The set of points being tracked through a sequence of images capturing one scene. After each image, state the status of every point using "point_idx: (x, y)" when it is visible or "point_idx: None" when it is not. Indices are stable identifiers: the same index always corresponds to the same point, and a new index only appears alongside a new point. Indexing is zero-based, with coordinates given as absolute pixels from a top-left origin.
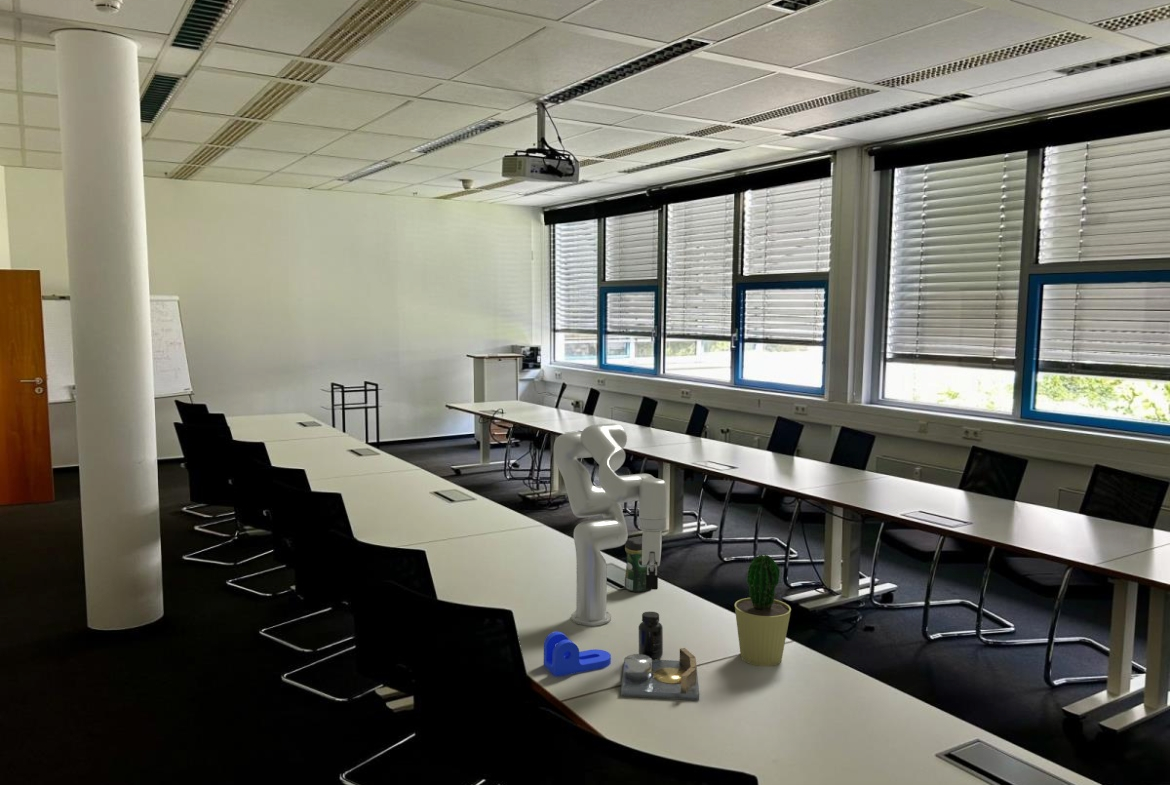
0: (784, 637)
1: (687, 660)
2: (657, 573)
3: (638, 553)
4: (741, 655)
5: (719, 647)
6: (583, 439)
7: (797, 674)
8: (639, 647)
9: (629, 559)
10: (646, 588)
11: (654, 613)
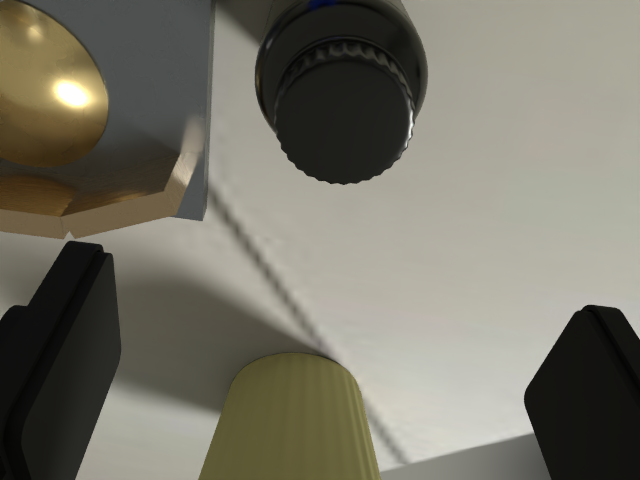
0: None
1: (91, 196)
2: (545, 454)
3: None
4: (289, 360)
5: (393, 313)
6: None
7: (179, 437)
8: None
9: None
10: (68, 245)
11: (359, 156)
